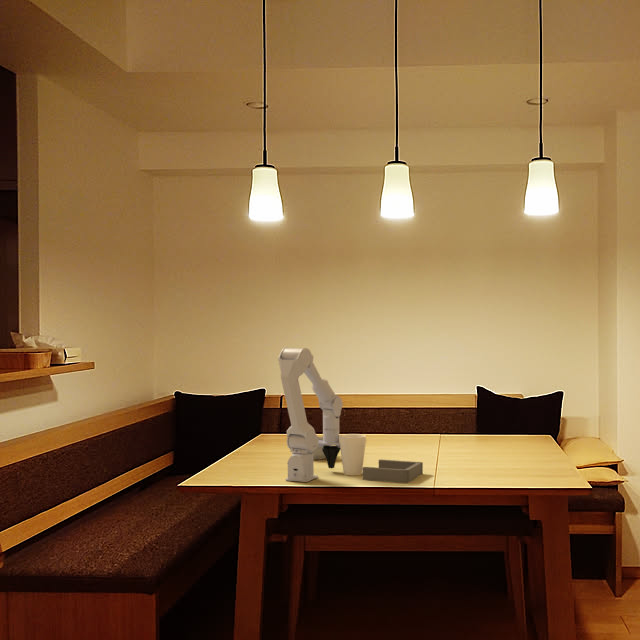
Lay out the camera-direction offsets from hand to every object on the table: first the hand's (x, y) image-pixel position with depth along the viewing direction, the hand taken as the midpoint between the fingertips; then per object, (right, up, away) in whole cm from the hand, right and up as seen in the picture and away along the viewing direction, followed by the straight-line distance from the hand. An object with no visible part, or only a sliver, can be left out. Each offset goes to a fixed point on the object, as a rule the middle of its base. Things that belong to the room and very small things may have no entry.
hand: (331, 467), depth 288 cm
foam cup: (+7, -2, -3) cm, 8 cm away
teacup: (-4, -2, +29) cm, 30 cm away
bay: (+20, -1, -9) cm, 22 cm away
